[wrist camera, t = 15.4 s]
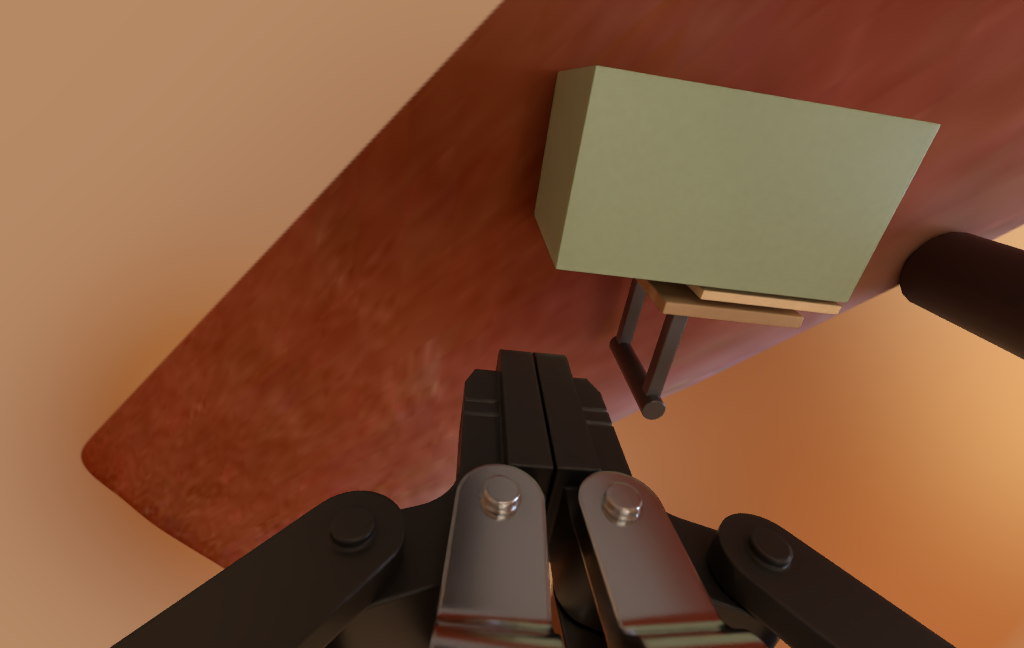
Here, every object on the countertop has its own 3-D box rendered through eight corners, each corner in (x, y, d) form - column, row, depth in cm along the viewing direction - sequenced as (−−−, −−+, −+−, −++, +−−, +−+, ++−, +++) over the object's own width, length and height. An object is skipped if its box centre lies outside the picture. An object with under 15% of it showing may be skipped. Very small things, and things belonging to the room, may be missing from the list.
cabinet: (557, 71, 31) (595, 65, 21) (796, 111, 34) (941, 124, 23) (532, 225, 36) (552, 284, 26) (741, 252, 38) (840, 316, 28)
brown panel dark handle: (615, 242, 37) (667, 303, 27) (719, 255, 38) (807, 318, 28) (592, 334, 41) (629, 418, 31) (686, 343, 42) (753, 428, 32)
